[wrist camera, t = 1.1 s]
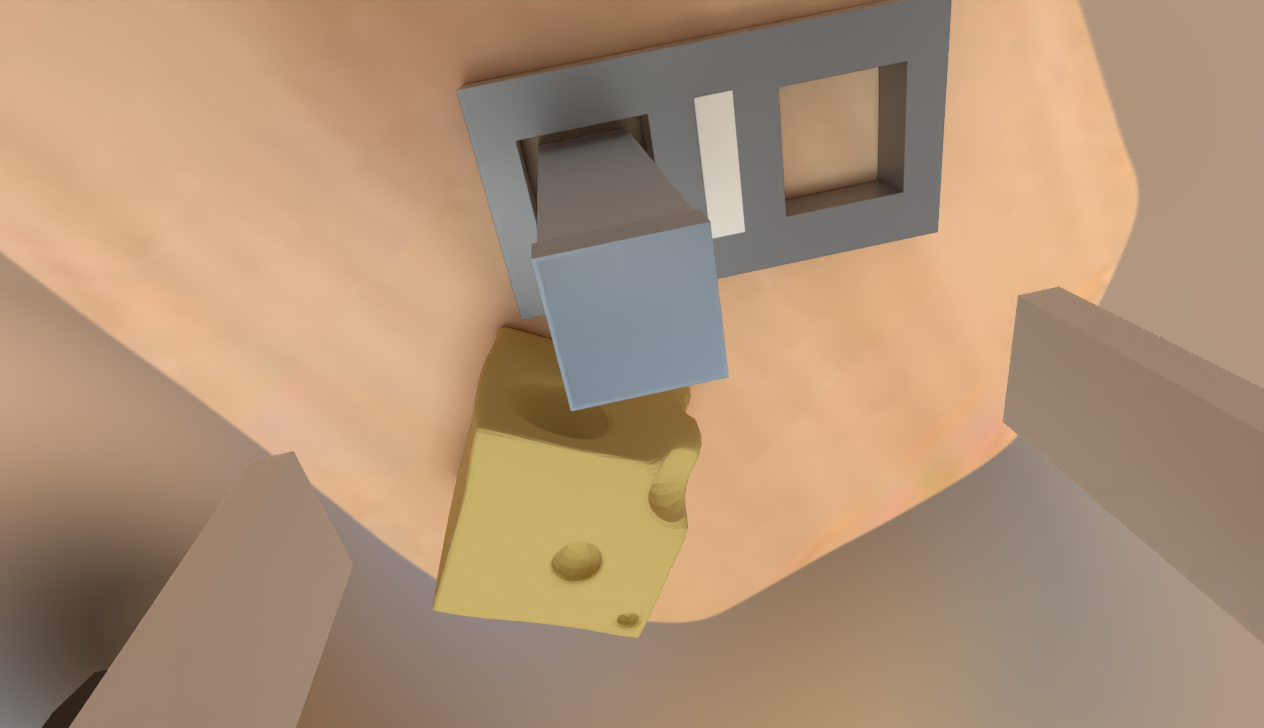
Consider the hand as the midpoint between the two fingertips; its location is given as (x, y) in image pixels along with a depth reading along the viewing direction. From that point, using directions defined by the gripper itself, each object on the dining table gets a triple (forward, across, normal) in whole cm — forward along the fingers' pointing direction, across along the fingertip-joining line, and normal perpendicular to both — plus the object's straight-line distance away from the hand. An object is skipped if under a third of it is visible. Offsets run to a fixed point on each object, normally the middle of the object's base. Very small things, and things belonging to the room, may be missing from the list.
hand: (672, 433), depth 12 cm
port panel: (+21, +6, 0) cm, 21 cm away
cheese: (+21, -4, -12) cm, 25 cm away
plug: (+21, 0, 0) cm, 21 cm away
